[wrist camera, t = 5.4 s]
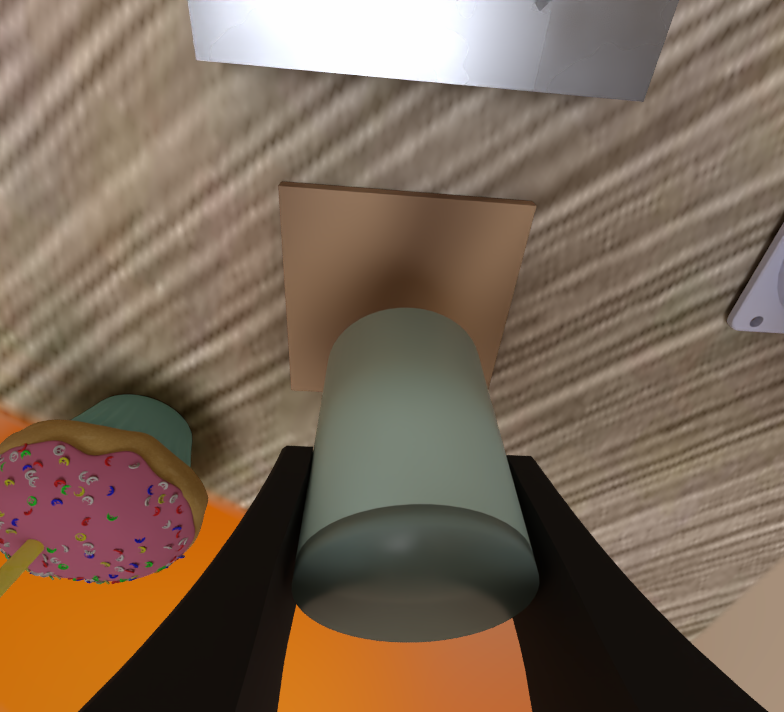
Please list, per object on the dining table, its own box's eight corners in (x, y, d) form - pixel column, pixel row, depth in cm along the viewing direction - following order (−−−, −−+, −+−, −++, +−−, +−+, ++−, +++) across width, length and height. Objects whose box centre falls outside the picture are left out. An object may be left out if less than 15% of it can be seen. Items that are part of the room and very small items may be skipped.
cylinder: (495, 313, 12) (575, 531, 7) (463, 428, 15) (505, 644, 10) (327, 301, 12) (284, 521, 7) (327, 421, 15) (296, 640, 10)
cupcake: (29, 435, 22) (-248, 739, 13) (90, 325, 19) (-229, 630, 9) (187, 503, 26) (66, 786, 16) (265, 421, 22) (171, 720, 12)
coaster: (531, 200, 16) (536, 205, 16) (482, 392, 21) (485, 400, 21) (281, 181, 16) (278, 186, 15) (293, 382, 21) (291, 390, 20)
